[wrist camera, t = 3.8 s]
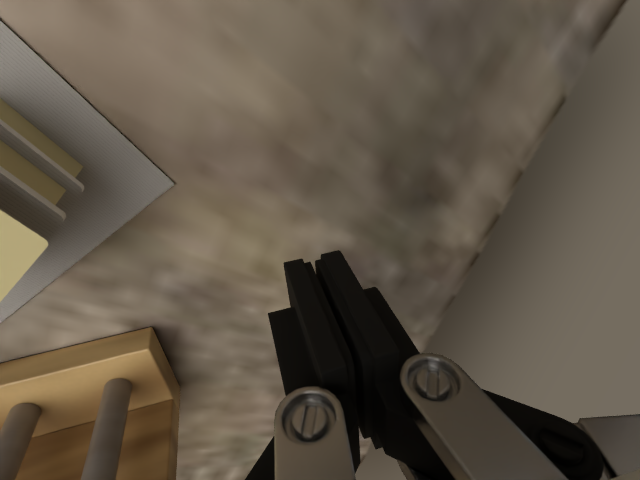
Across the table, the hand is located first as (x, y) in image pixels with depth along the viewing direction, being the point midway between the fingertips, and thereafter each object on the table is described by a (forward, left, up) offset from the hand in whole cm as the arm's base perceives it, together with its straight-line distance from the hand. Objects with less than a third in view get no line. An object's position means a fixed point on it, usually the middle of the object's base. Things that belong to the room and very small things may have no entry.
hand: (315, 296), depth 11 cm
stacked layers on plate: (-3, -11, -7) cm, 13 cm away
